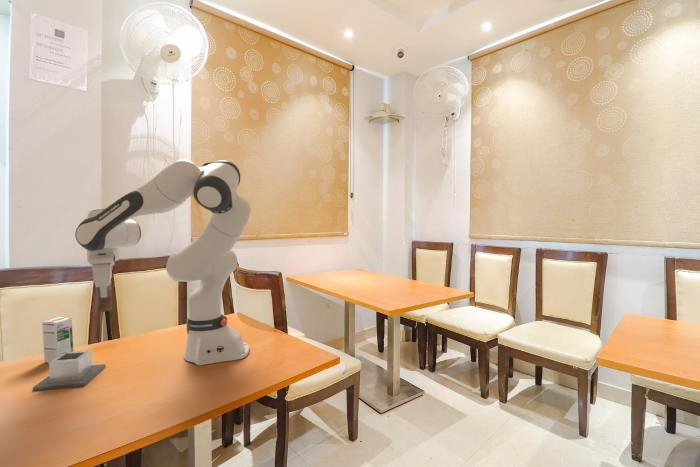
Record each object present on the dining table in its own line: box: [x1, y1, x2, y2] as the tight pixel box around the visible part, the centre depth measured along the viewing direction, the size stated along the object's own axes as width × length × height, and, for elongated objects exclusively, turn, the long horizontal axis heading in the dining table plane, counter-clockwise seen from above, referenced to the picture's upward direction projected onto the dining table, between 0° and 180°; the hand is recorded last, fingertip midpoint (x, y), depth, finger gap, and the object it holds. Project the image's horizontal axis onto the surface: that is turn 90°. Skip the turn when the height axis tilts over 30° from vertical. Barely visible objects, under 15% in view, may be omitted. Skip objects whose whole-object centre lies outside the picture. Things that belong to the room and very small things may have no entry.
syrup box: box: [41, 316, 74, 364], centre depth 119 cm, size 6×6×14 cm
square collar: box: [32, 350, 106, 392], centre depth 106 cm, size 13×13×7 cm
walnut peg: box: [96, 280, 113, 313], centre depth 118 cm, size 4×4×10 cm
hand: (104, 295), depth 118 cm, fingers closed on walnut peg, 4 cm apart
